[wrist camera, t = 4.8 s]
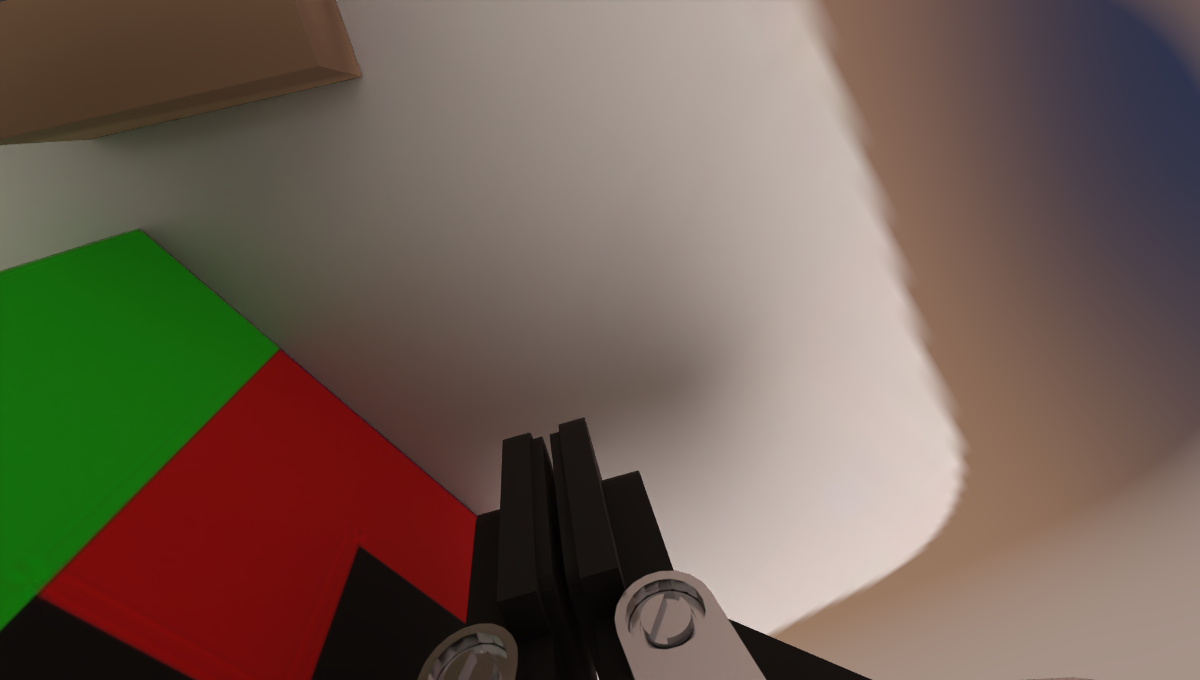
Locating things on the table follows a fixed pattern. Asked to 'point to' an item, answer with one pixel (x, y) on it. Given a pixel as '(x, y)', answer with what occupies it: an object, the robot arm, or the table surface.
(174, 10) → the trap box
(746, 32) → the table surface
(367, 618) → the puzzle toy
